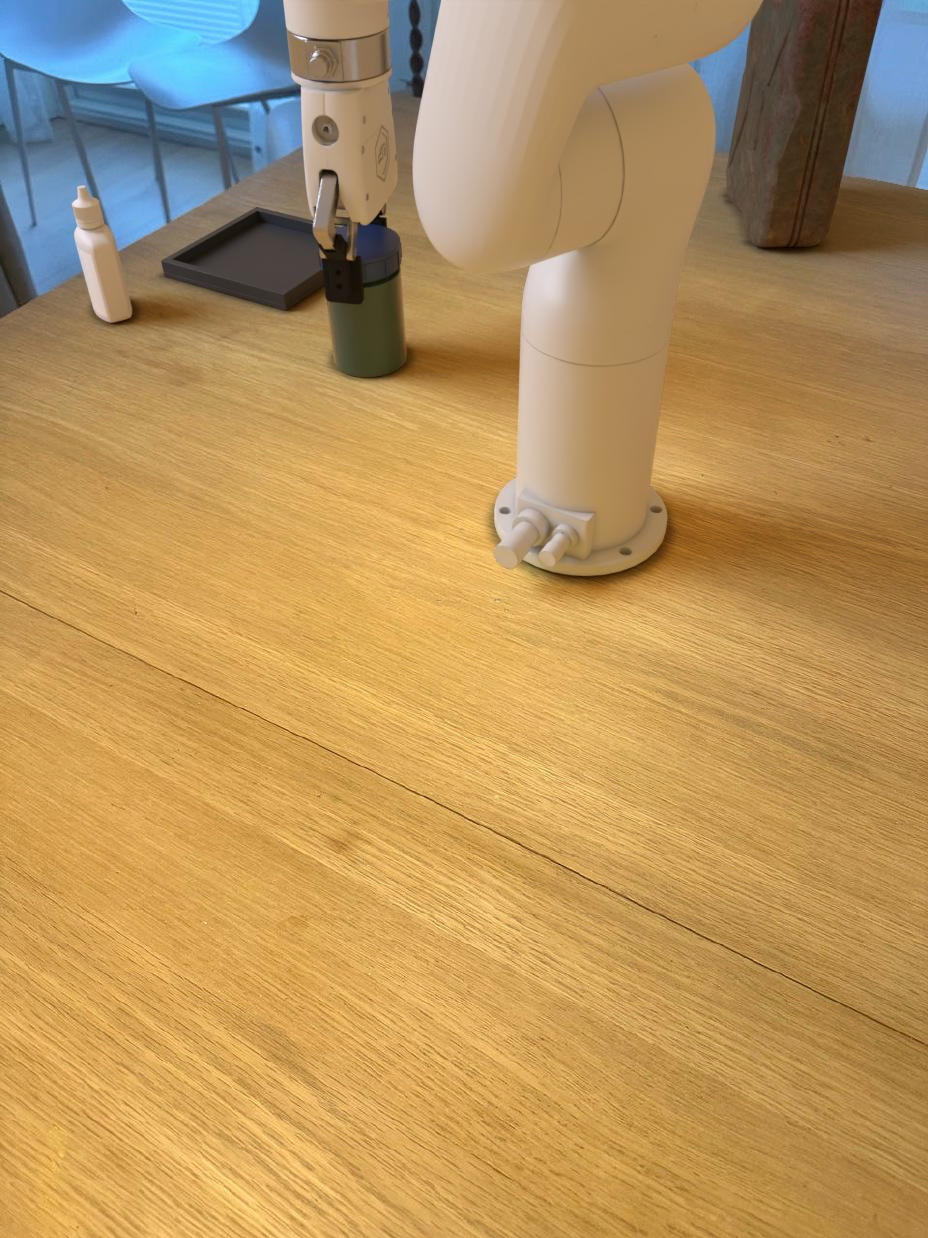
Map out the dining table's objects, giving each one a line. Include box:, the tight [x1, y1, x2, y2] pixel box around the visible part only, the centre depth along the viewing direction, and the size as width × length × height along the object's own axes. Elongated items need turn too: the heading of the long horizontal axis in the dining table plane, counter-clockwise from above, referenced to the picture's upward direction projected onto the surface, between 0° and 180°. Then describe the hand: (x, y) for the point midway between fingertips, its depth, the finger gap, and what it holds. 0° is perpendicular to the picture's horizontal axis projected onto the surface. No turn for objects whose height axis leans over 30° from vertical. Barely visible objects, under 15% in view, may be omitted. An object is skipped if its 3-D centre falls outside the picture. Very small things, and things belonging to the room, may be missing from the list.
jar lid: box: [318, 224, 403, 282], centre depth 88 cm, size 7×7×2 cm
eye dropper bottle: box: [71, 184, 133, 324], centre depth 99 cm, size 4×6×12 cm
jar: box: [325, 266, 408, 378], centre depth 92 cm, size 7×7×10 cm
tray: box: [160, 206, 340, 311], centre depth 109 cm, size 16×16×2 cm
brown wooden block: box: [725, 0, 884, 248], centre depth 109 cm, size 19×8×25 cm, turn 1°
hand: (358, 279), depth 90 cm, fingers closed on jar lid, 6 cm apart
